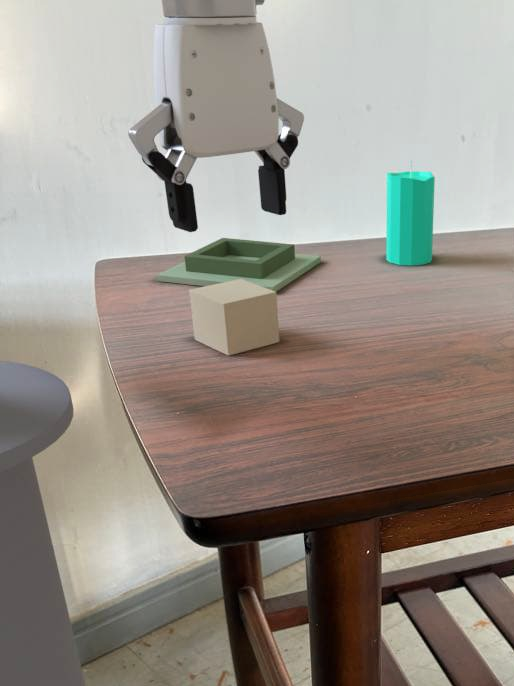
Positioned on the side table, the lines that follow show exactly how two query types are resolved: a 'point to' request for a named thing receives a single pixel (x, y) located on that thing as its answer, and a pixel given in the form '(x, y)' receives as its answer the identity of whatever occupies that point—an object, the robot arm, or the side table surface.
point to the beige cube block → (234, 316)
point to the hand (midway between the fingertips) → (231, 220)
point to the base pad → (241, 264)
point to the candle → (410, 217)
